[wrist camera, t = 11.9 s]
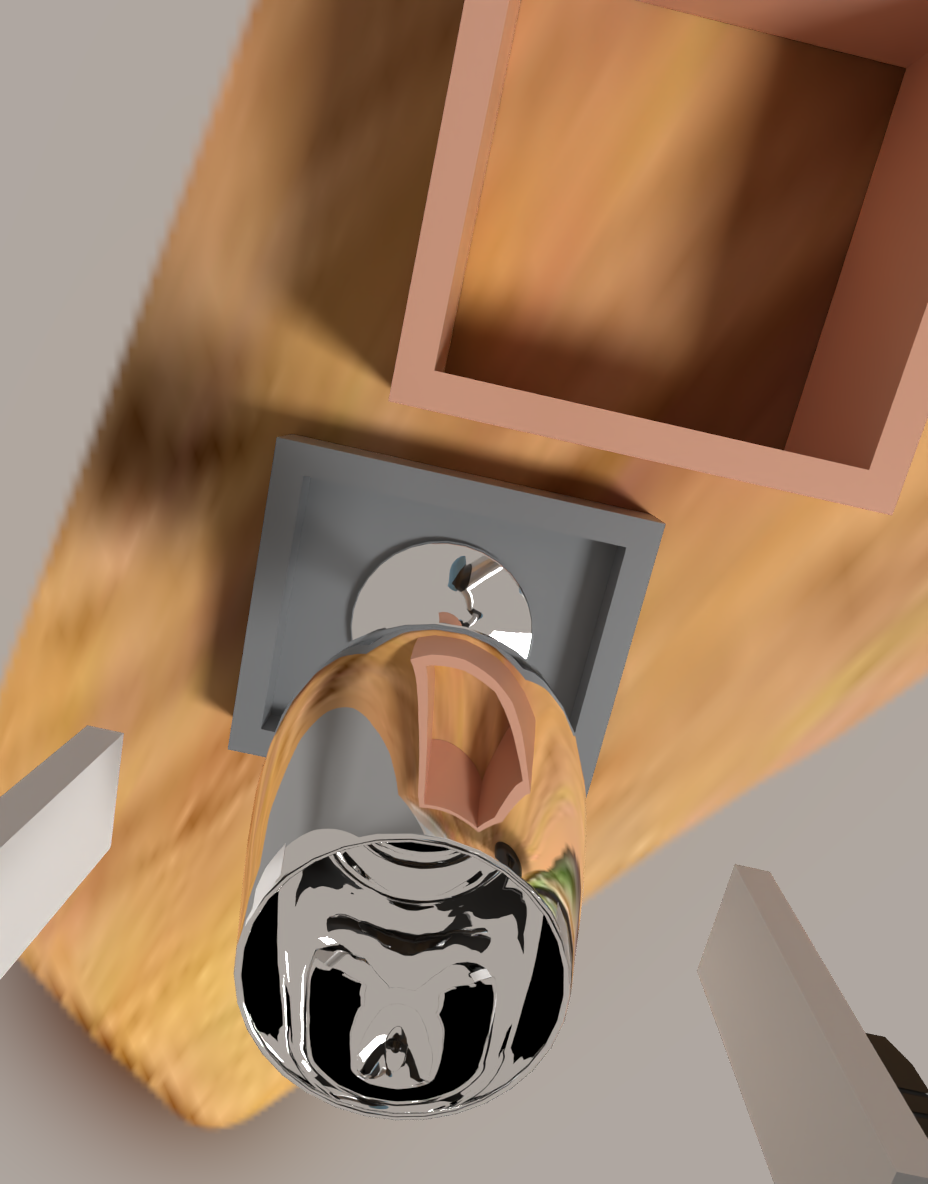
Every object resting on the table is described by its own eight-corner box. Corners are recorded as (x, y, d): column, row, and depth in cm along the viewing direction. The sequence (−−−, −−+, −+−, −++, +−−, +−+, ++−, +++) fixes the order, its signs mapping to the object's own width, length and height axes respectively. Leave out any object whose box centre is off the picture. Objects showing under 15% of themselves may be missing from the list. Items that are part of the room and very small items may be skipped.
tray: (651, 514, 32) (665, 523, 29) (572, 792, 35) (579, 822, 32) (292, 434, 31) (277, 436, 29) (245, 724, 34) (227, 749, 32)
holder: (950, 38, 27) (1108, -81, 20) (801, 490, 31) (892, 515, 24) (501, -75, 27) (510, -237, 20) (407, 400, 31) (388, 401, 24)
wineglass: (527, 722, 33) (614, 1188, 13) (345, 710, 33) (166, 1162, 13) (544, 543, 31) (674, 783, 12) (351, 530, 31) (154, 750, 11)
